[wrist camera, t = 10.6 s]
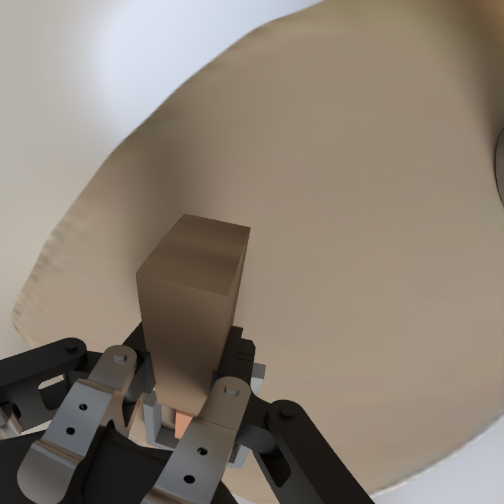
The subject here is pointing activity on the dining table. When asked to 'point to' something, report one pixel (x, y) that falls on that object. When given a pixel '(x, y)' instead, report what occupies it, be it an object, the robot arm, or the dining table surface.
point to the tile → (182, 422)
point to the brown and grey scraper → (192, 307)
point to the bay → (167, 437)
